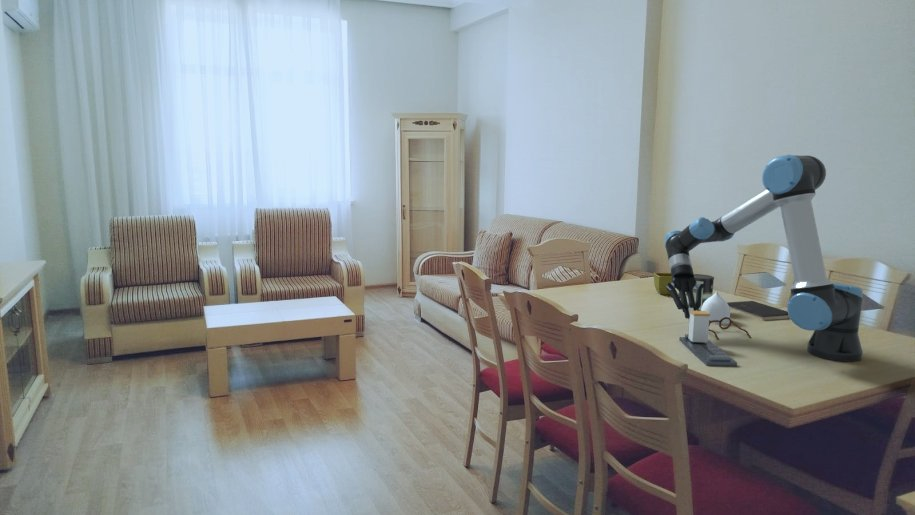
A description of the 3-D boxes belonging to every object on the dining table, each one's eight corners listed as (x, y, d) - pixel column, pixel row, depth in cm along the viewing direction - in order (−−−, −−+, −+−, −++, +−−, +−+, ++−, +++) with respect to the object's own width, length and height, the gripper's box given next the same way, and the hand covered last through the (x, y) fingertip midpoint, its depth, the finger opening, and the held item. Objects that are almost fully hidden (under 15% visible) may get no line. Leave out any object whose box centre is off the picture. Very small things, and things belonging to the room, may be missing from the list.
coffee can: (708, 307, 260) (711, 274, 258) (713, 313, 250) (716, 279, 248) (683, 306, 262) (685, 273, 260) (687, 311, 252) (689, 278, 250)
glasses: (729, 329, 228) (730, 316, 228) (751, 339, 216) (753, 325, 215) (696, 330, 226) (697, 317, 225) (717, 341, 213) (718, 327, 213)
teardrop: (697, 316, 246) (699, 286, 244) (726, 317, 244) (729, 288, 242) (702, 323, 235) (704, 292, 233) (733, 325, 233) (735, 294, 231)
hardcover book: (761, 322, 240) (762, 316, 240) (721, 308, 262) (722, 302, 261) (795, 319, 244) (796, 313, 244) (753, 305, 266) (753, 300, 266)
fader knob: (688, 338, 209) (690, 310, 208) (703, 338, 209) (705, 310, 207) (692, 342, 205) (694, 313, 204) (707, 342, 205) (710, 313, 203)
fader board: (679, 340, 212) (679, 333, 212) (705, 340, 212) (706, 334, 212) (706, 365, 187) (707, 357, 186) (736, 366, 186) (737, 358, 186)
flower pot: (677, 295, 282) (678, 276, 280) (657, 295, 282) (659, 276, 280) (670, 291, 290) (672, 273, 289) (652, 291, 290) (653, 272, 289)
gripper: (696, 275, 228) (709, 331, 214) (660, 274, 228) (671, 331, 214) (702, 263, 221) (716, 321, 208) (665, 262, 222) (676, 320, 208)
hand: (693, 326), depth 211 cm, fingers closed
